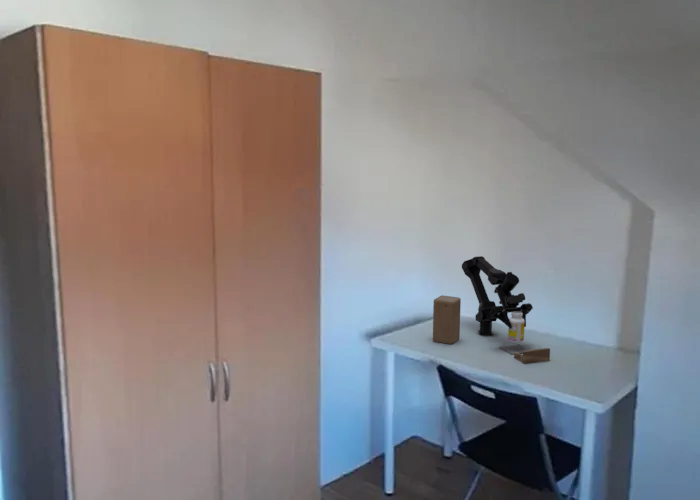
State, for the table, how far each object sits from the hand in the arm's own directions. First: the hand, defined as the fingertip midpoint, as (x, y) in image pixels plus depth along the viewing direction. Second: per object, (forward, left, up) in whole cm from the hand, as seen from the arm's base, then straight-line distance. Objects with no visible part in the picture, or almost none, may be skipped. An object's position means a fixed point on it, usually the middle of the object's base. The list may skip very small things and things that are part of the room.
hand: (518, 327), depth 260 cm
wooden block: (-11, -30, -11) cm, 34 cm away
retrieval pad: (-1, 0, -11) cm, 11 cm away
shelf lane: (+10, +5, -11) cm, 15 cm away
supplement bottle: (-1, -1, -7) cm, 7 cm away
